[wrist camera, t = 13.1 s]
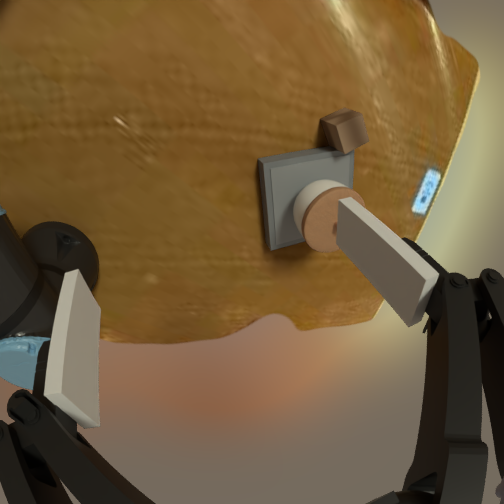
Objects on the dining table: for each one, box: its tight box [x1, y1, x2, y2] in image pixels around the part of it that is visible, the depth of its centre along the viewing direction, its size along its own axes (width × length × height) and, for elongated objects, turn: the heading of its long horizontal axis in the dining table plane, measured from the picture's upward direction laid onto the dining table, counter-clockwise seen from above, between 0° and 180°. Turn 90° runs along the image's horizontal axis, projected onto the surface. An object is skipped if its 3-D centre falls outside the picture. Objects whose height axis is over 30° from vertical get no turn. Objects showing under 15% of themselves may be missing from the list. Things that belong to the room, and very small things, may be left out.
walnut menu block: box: [320, 108, 369, 154], centre depth 45 cm, size 5×5×5 cm
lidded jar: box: [293, 179, 365, 252], centre depth 47 cm, size 11×11×9 cm
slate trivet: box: [258, 146, 354, 251], centre depth 51 cm, size 16×16×3 cm
